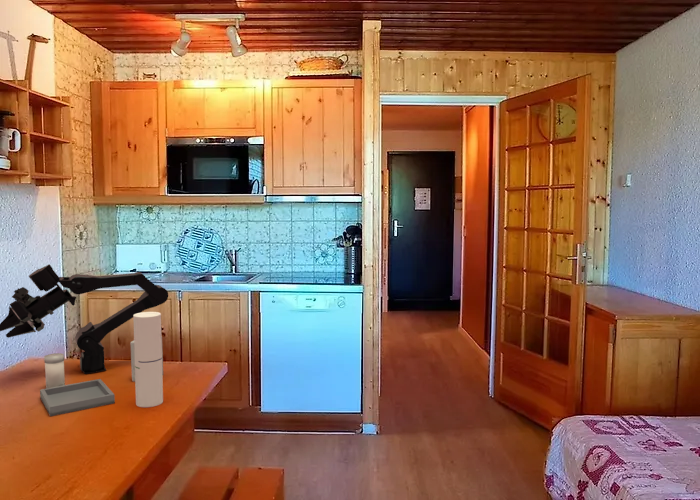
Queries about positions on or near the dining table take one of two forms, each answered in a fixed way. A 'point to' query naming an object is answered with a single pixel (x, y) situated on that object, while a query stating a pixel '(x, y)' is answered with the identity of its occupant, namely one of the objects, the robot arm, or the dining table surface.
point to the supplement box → (134, 360)
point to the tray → (76, 397)
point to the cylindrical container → (148, 359)
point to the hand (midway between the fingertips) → (1, 333)
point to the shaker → (54, 370)
